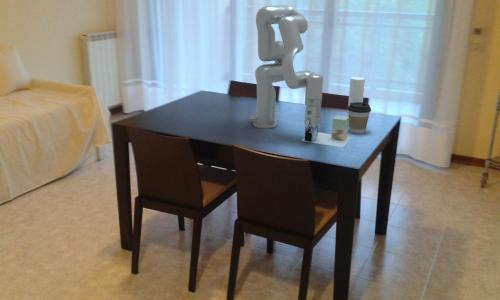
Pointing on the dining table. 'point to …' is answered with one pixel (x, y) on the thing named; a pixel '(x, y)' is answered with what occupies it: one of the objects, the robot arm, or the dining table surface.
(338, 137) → the bottom block
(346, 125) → the top block
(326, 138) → the white rectangular slab
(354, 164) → the dining table surface
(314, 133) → the pale white cylinder
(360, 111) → the coffee cup
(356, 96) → the cylindrical container
